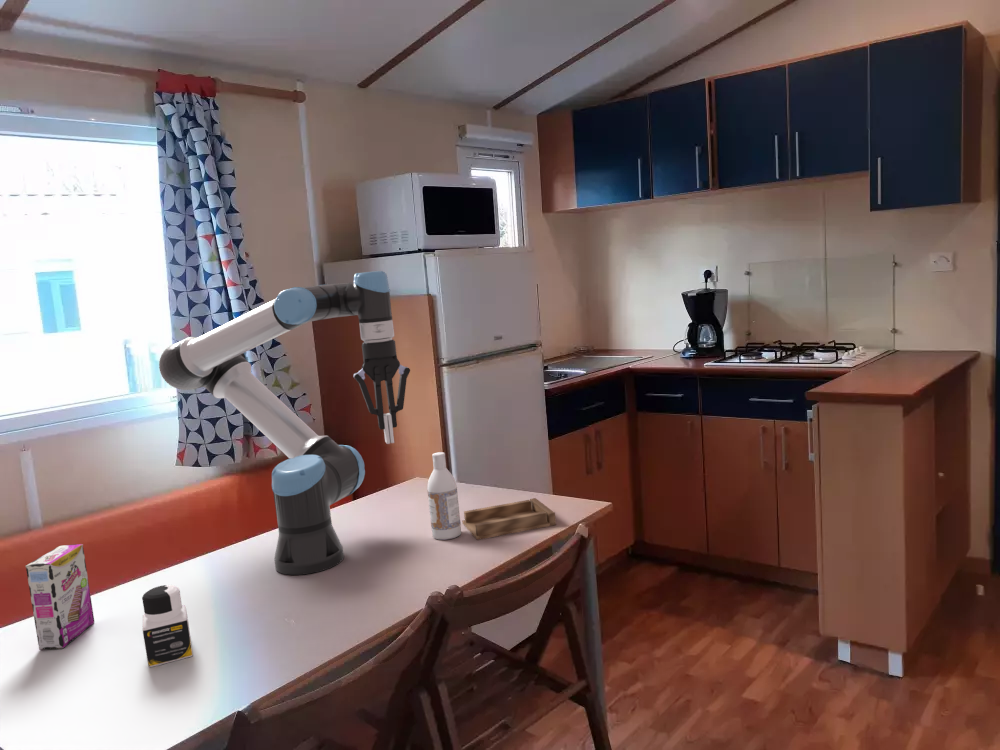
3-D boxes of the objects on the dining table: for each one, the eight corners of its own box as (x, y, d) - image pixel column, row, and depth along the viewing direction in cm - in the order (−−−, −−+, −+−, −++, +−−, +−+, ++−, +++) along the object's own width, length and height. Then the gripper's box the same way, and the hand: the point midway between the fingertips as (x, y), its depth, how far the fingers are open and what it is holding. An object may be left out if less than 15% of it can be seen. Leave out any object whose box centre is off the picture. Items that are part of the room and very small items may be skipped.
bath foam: (427, 535, 191) (419, 453, 188) (454, 528, 194) (445, 448, 191) (439, 542, 184) (430, 458, 182) (466, 535, 188) (458, 453, 185)
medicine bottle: (148, 668, 135) (137, 601, 134) (148, 651, 142) (138, 587, 140) (193, 657, 138) (182, 591, 136) (191, 640, 145) (181, 578, 143)
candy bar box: (64, 649, 146) (49, 563, 144) (38, 651, 146) (23, 566, 144) (97, 622, 157) (83, 542, 155) (72, 624, 157) (58, 544, 155)
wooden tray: (476, 540, 184) (475, 527, 183) (462, 523, 197) (461, 510, 197) (555, 525, 189) (554, 512, 189) (536, 509, 203) (535, 497, 202)
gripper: (350, 344, 174) (362, 449, 177) (410, 337, 178) (421, 440, 181) (346, 342, 181) (358, 443, 185) (404, 335, 185) (415, 435, 188)
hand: (389, 442), depth 183 cm, fingers closed
